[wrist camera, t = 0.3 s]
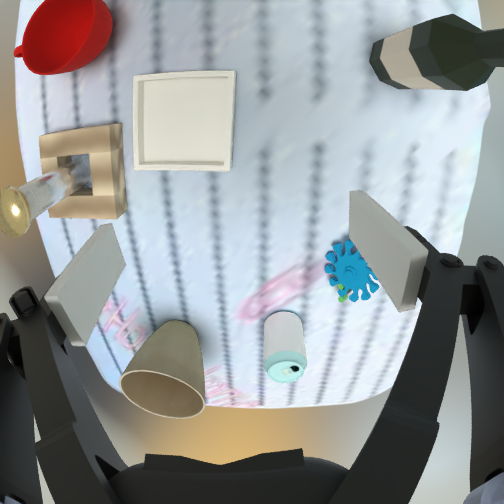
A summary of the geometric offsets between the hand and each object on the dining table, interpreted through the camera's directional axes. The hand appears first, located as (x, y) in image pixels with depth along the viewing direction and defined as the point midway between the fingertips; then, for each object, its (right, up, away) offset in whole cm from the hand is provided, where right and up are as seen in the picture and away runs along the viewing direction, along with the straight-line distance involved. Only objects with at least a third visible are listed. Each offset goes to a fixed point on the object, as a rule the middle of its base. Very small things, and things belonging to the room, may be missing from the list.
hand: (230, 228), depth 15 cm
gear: (+17, -3, +32) cm, 36 cm away
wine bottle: (+21, +26, +16) cm, 37 cm away
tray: (-8, +17, +22) cm, 29 cm away
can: (+7, -15, +39) cm, 42 cm away
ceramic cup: (-25, +32, +15) cm, 43 cm away
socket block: (-26, +12, +25) cm, 38 cm away
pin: (-26, +12, +25) cm, 38 cm away
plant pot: (-13, -18, +41) cm, 47 cm away
